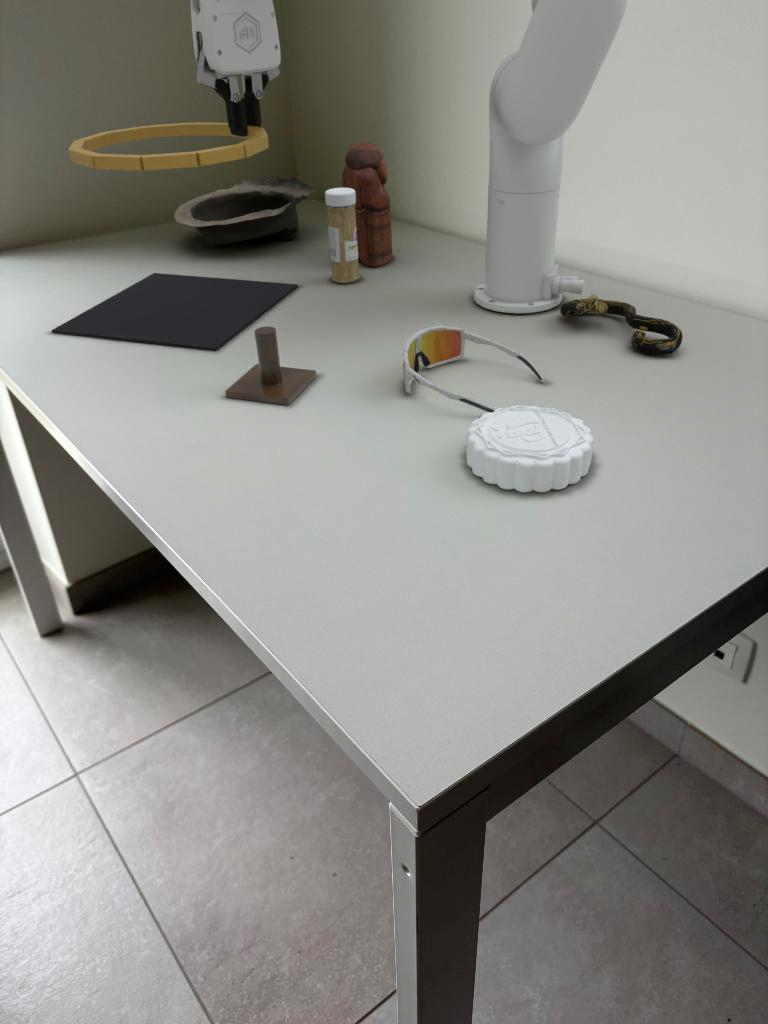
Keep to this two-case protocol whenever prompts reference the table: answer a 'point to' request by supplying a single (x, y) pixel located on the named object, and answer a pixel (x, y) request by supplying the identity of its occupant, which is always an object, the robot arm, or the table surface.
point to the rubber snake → (630, 323)
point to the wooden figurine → (369, 202)
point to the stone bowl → (246, 210)
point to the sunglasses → (446, 356)
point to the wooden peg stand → (270, 375)
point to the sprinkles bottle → (342, 234)
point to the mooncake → (529, 448)
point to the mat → (179, 311)
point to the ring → (85, 156)
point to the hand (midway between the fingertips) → (246, 133)
